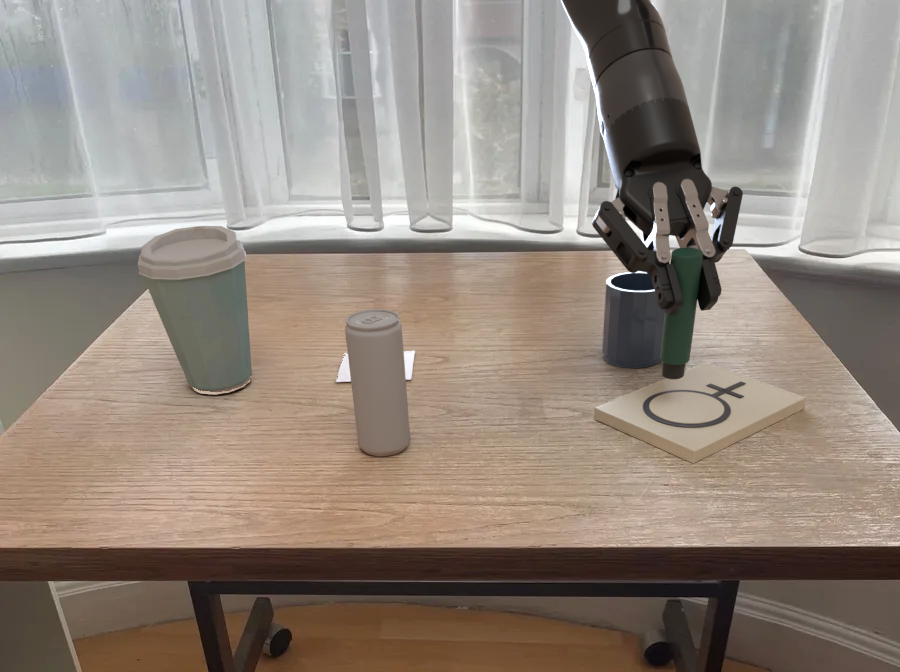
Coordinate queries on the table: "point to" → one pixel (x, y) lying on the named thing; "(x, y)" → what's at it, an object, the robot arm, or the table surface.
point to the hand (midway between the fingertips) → (692, 307)
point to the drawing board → (699, 411)
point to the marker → (681, 314)
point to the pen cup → (632, 321)
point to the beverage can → (378, 381)
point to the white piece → (345, 370)
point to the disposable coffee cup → (202, 302)
